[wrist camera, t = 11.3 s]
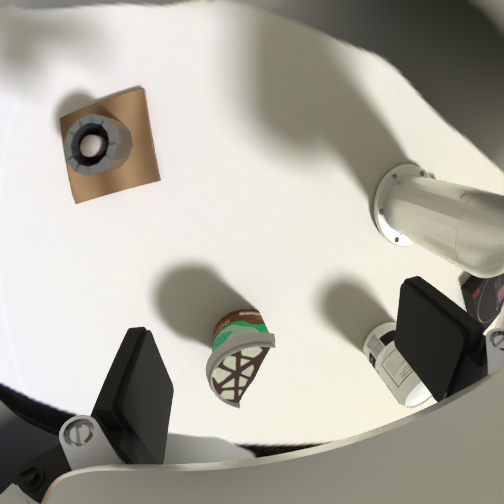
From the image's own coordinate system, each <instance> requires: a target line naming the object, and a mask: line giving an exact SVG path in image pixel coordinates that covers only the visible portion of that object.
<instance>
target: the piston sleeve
mask: <svg viewBox="0 0 504 504" xmlns="http://www.w3.org/2000/svg"><path fill="white" fill-rule="evenodd" d="M102 129H105V130H106V131H107V132H108V138H109V146H108V150H107V153H106V155H105V157H104V158H103V159H102V160H101V161H100V162H98V161H97V159H96V158H95V157H94V156H93V157H87V156H84V155H83V154H82V152H81V149H80V145H81V142H82V140H83V139H84V138H85V137H86V136H88V135H97V134H98V133H99V132H100V131H101V130H102ZM132 147H133V142H132V137H131V132H130V130H129V129H128V128H127V127H126V126H125V125H124V124H123V123H122V122H120V121H117V120H114V119H111V118H108V117H104V116H100V115H96V114H90V115H88V116H85V117H82V118H80V119H78V120H77V121H76V122H75V124H74V125H73V126H72V127H71V128H70V129H69V130H68V133H67V136H66V140H65V143H64V151H65V157H66V162H67V163H68V164H69V165H70V167H71V168H72V169H73V170H74V171H75V172H77V173H80V174H84V175H87V176H89V175H94V174H99V173H104V172H108V171H112V170H115V169H118V168H120V167H121V166H122V165H123V164H124V163H125V162H126V161H127V160H128V159H129V156H130V153H131V150H132Z"/></svg>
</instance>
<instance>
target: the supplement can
mask: <svg viewBox="0 0 504 504" xmlns="http://www.w3.org/2000/svg"><path fill="white" fill-rule="evenodd" d="M395 330H396V323H395V322H388V323H384V324H381V325H379V326H378V327H376V328H374V329H373V330H372V331H371V332H370V333H369V335H368V337H367V338H366V340H365V343H364V346H363V352H364V354H365V356H366V357H367V359H368V360H369V361H370V363H371V364H372V366H373V367H374V368H375V370H376V371H377V373H378V374H379V375H380V377H381V378H382V380H383V381H384V383H385V384H386V385H387V387H388V388H389V390H390V391H391V393H392V394H393V395H394V397H395V398H396V400H397V401H398V403H399V404H401V405H404V406H406V407H407V408H415V407H417V406H419V405H421V404H423V403H424V402H426V401H427V400H428V399H429V398H431V397H432V394H431V393H430V392H429V390H428V389H427V388H426V386H425V385H424V384H423V382H422V381H421V380H420V378H419V377H418V376H417V375H416V373H415V372H414V371H413V369H412V368H411V367H410V365H409V364H408V363H407V362H406V360H405V359H404V358H403V356H402V355H401V354H400V353H399V351H398V350H397V349H396V347H395V344H394V337H395Z"/></svg>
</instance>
